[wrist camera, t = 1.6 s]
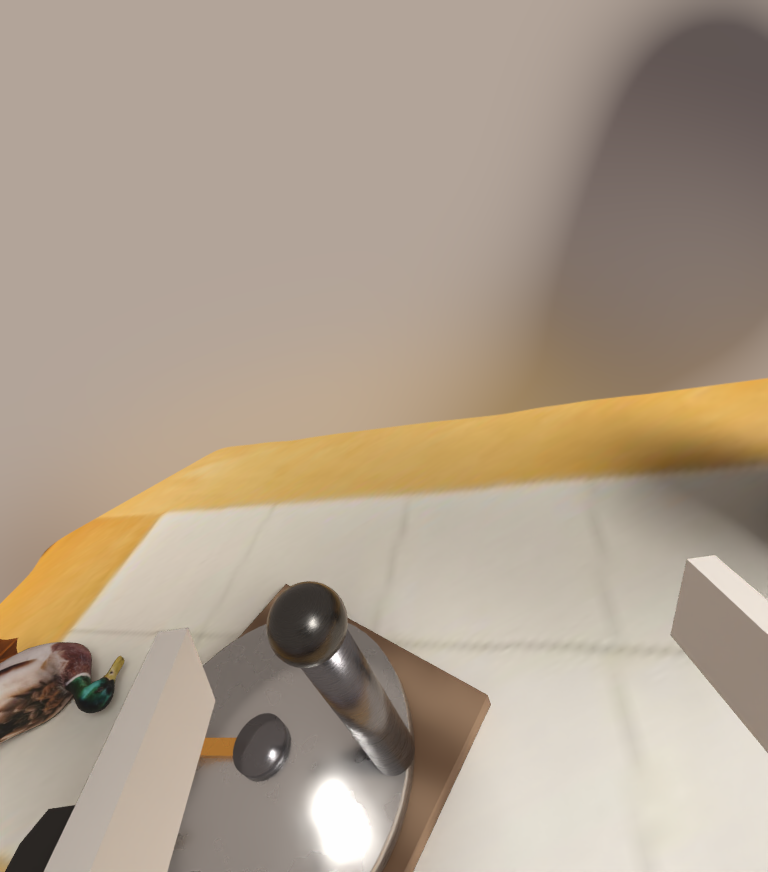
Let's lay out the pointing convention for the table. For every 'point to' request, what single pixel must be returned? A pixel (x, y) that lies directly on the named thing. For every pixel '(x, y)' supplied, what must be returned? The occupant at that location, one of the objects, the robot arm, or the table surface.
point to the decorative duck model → (48, 684)
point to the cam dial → (300, 748)
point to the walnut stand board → (425, 739)
